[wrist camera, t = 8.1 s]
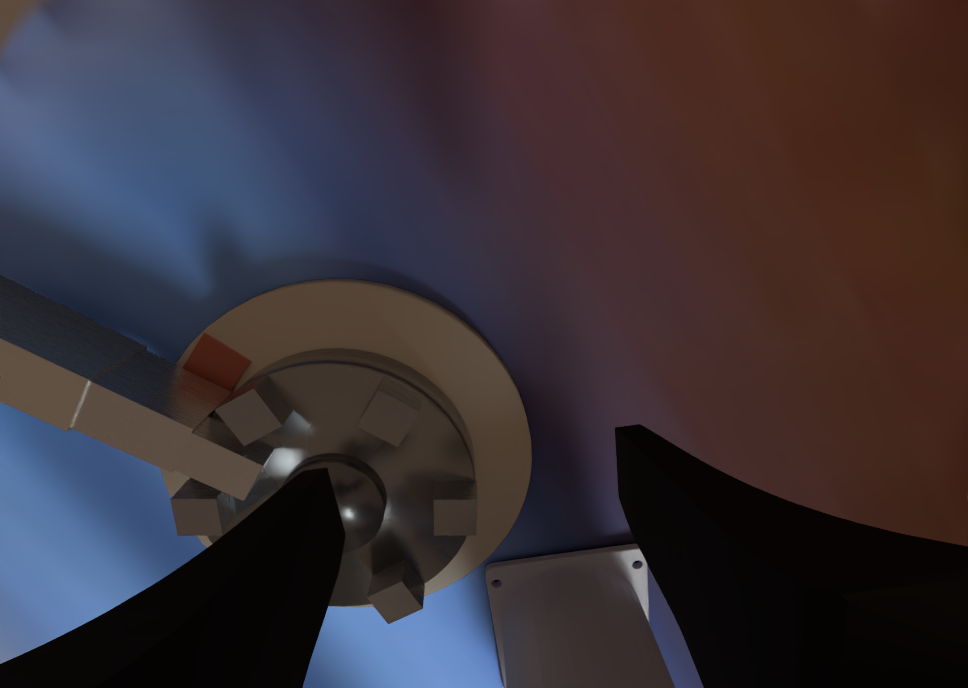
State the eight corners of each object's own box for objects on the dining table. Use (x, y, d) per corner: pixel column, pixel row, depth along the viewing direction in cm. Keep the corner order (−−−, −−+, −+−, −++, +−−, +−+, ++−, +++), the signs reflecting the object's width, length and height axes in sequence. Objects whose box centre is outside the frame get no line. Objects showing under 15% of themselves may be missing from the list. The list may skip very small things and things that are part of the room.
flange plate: (545, 568, 25) (548, 585, 24) (232, 610, 25) (222, 629, 24) (507, 252, 20) (509, 256, 19) (113, 307, 20) (94, 315, 19)
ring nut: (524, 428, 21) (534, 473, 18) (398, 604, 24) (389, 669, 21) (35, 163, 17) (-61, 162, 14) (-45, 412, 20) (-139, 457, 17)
